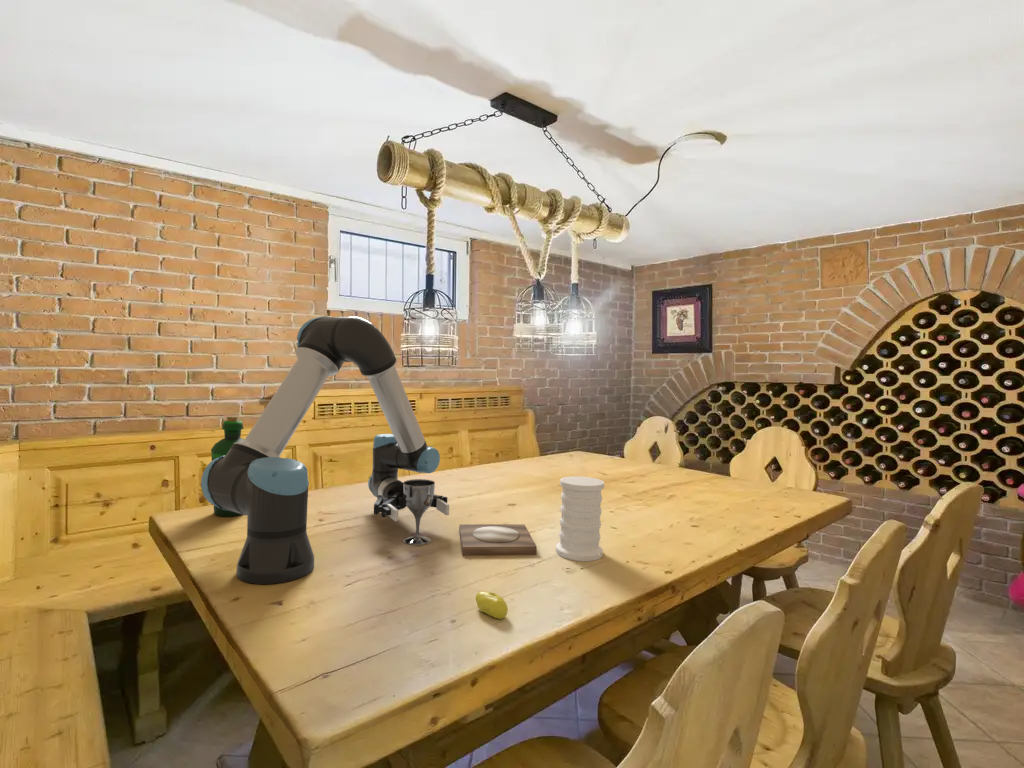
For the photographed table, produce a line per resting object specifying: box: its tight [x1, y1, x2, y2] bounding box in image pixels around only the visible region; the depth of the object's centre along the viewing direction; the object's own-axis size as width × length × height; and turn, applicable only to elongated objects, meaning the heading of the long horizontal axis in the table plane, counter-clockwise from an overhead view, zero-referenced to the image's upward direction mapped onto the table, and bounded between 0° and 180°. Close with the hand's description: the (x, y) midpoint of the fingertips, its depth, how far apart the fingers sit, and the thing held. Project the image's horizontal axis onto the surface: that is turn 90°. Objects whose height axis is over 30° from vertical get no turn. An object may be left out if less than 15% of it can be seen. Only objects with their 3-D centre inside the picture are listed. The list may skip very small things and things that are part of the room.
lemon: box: [475, 590, 509, 620], centre depth 99 cm, size 4×8×4 cm, turn 38°
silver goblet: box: [402, 478, 436, 546], centre depth 137 cm, size 8×8×15 cm
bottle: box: [210, 415, 245, 517], centre depth 154 cm, size 11×11×28 cm
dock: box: [458, 523, 537, 556], centre depth 138 cm, size 18×18×2 cm
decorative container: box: [555, 475, 605, 562], centre depth 133 cm, size 12×12×18 cm
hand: (423, 512), depth 134 cm, fingers open, 13 cm apart
